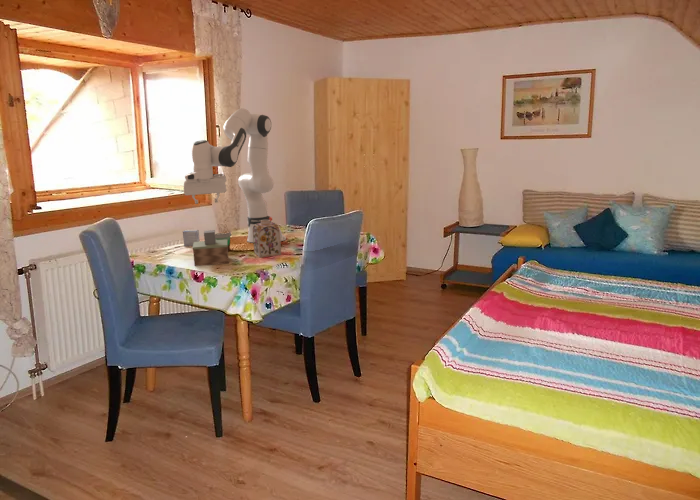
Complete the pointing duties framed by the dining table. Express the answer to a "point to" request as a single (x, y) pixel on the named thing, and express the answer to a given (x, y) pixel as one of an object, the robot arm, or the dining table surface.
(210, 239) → the block
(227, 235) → the food container
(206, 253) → the wooden box
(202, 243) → the box lid
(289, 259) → the dining table surface
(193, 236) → the medicine box
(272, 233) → the decorative jar
